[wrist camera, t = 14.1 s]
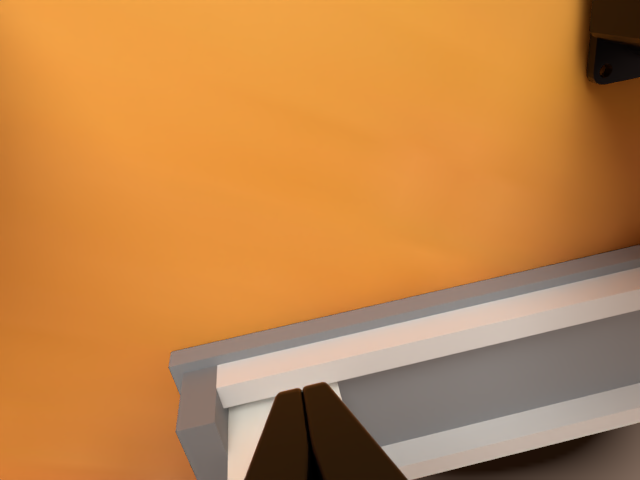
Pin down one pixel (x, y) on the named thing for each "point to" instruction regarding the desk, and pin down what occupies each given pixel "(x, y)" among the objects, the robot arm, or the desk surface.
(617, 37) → the robot arm
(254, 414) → the block
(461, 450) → the rail board
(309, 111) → the desk surface
